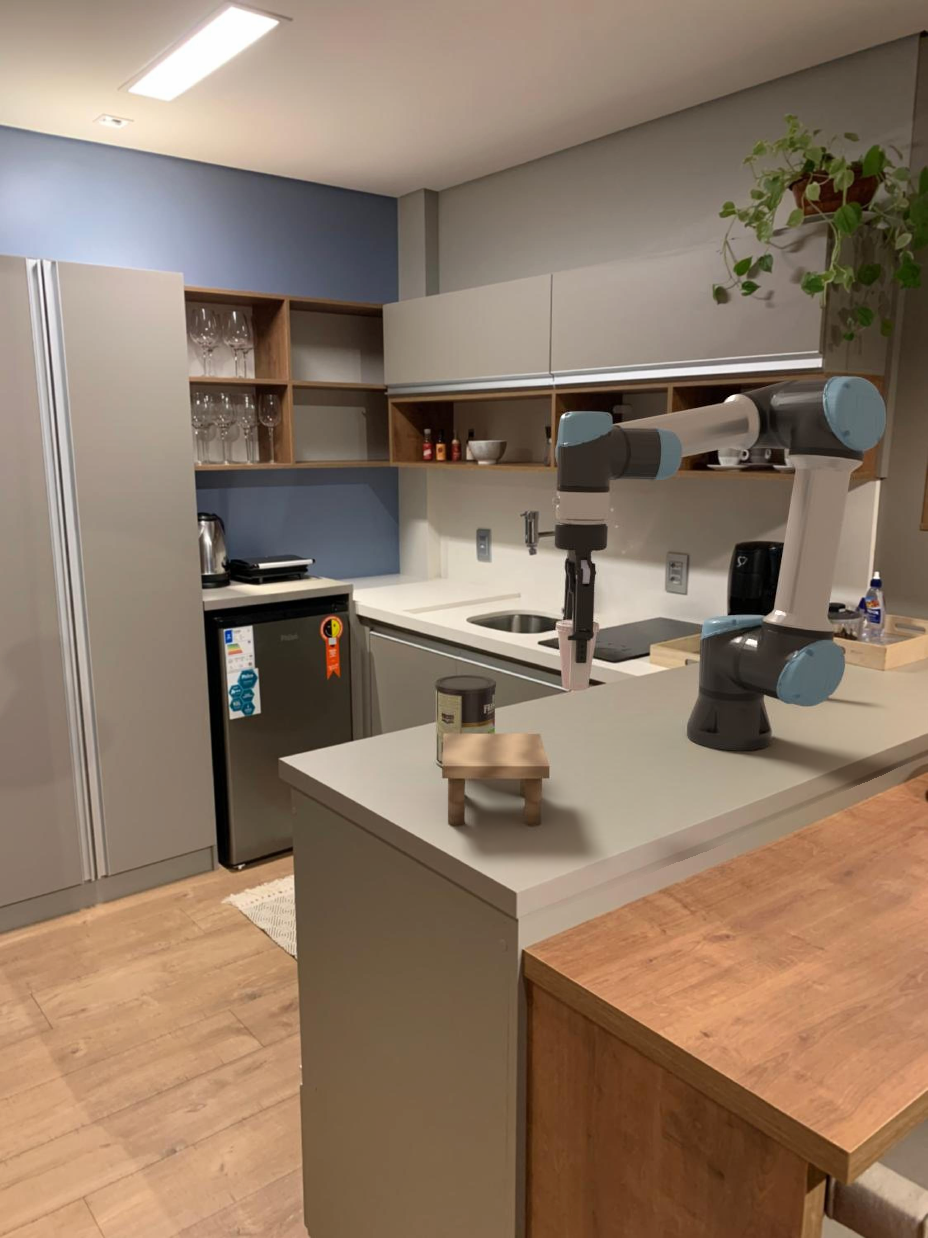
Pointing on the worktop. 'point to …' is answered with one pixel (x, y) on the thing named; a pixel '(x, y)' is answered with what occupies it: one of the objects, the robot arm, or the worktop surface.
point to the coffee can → (463, 707)
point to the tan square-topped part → (494, 768)
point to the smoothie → (564, 646)
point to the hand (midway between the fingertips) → (575, 677)
